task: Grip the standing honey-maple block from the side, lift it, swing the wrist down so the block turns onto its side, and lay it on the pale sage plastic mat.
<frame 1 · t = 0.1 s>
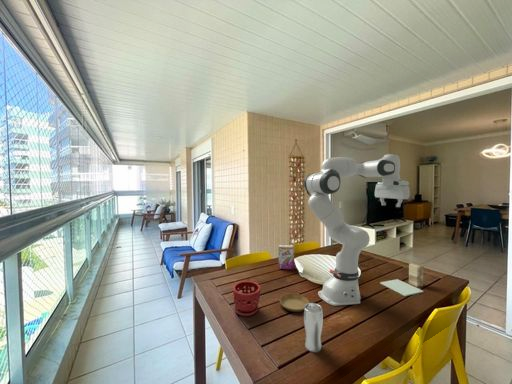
hand: (390, 206, 126), 48 cm above the table, tool pointing down, fingers open, 8 cm apart
sage mat: (400, 287, 127), on the table
plant saucer: (294, 306, 110), on the table
candy bar box: (286, 268, 158), on the table
maple block: (415, 284, 131), on the table
plant pot: (246, 311, 105), on the table
beer glass: (313, 346, 82), on the table
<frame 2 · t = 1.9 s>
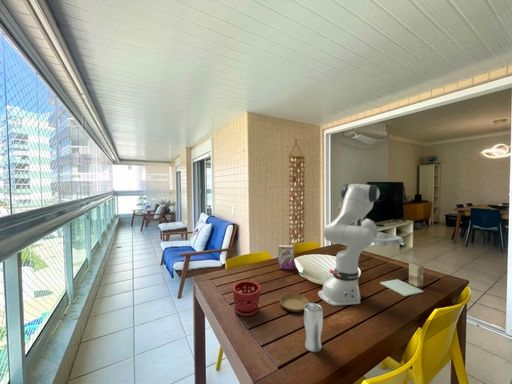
hand: (398, 244, 141), 21 cm above the table, tool horizontal, fingers open, 8 cm apart
nothing on the table moved.
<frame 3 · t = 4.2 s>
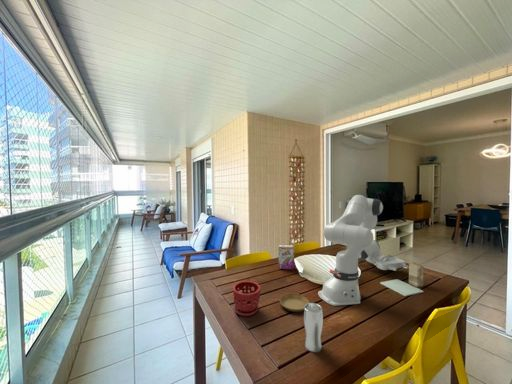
hand: (401, 268, 139), 6 cm above the table, tool horizontal, fingers open, 8 cm apart
nothing on the table moved.
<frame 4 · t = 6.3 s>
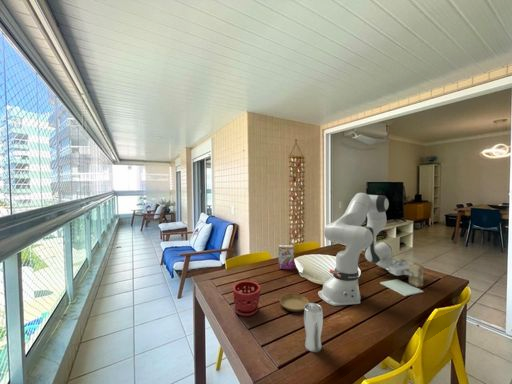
hand: (416, 274, 130), 7 cm above the table, tool horizontal, fingers closed on maple block, 5 cm apart
maple block: (415, 284, 131), on the table, touching gripper
everything else where it was.
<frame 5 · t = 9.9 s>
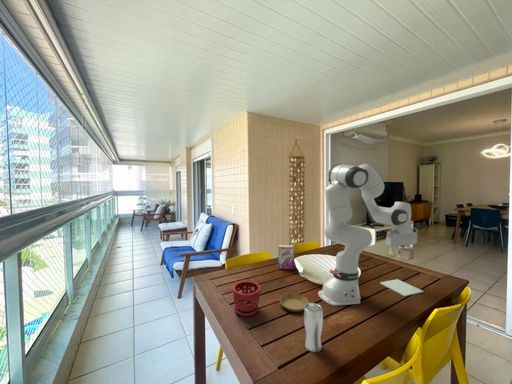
hand: (401, 252, 126), 21 cm above the table, tool pointing down, fingers closed on maple block, 5 cm apart
maple block: (391, 249, 132), point 21 cm above the table, tilted 90°, touching gripper
everything else where it was.
when the fingers open (4 cm above the table, at t = 13.0 s): maple block drops 1 cm, resting on sage mat.
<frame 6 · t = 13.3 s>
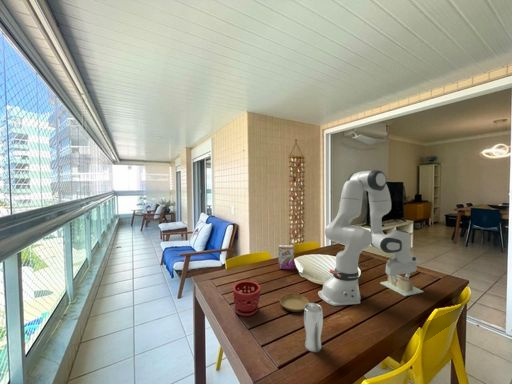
hand: (400, 280, 127), 4 cm above the table, tool pointing down, fingers open, 7 cm apart
maple block: (390, 277, 133), point 3 cm above the table, tilted 90°, touching sage mat
everything else where it was.
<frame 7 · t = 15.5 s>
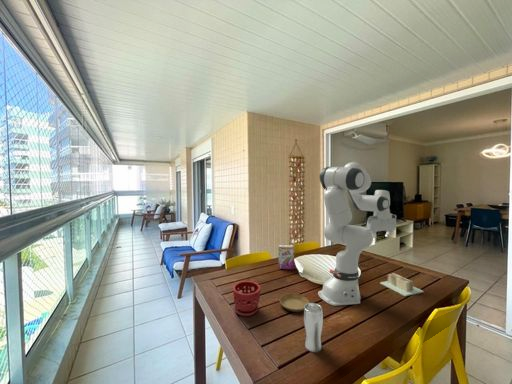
hand: (381, 237, 136), 27 cm above the table, tool pointing down, fingers open, 8 cm apart
nothing on the table moved.
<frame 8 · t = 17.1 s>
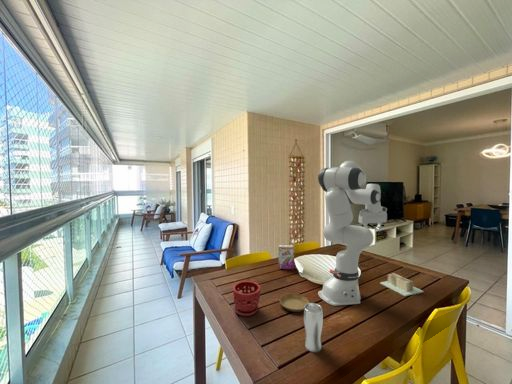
hand: (372, 229, 141), 31 cm above the table, tool pointing down, fingers open, 8 cm apart
nothing on the table moved.
at the end: maple block tilted 90°; maple block 6.6 cm from the sage mat (horizontally); the gripper is holding nothing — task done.
